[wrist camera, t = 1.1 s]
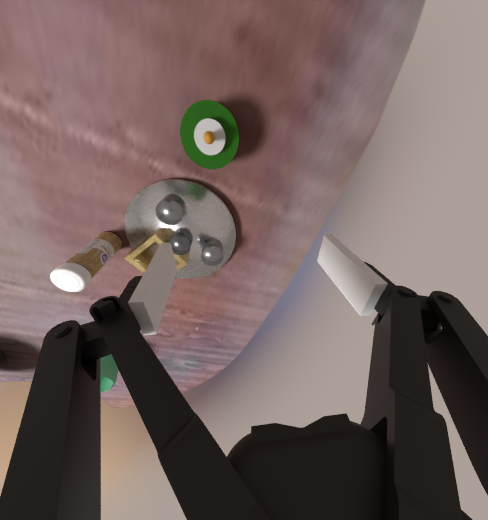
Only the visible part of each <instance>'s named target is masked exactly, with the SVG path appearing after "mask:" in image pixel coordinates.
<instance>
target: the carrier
mask: <svg viewBox="0 0 488 520" xmlns="http://www.w3.org/2000/svg"><path fill="white" fill-rule="evenodd" d="M124 225H125V233H126V237H127V239H128V242H129V244H130V246H131V248H132V250H131V251H130V252H129V253H128V255H127V256H126V257H125V258H124V259H126V260H127V261H128V262H130V263H131V264H132V265H134V266H135V267H136V268H138V269H139V270H140V271H142V272H143V273H145V271H146V269H147V267H148V266H149V264H150V262H151V260H152V258H153V257H154V255H155V253H156V251H157V249H158V248H159V246H160V244H161V243H171V246H172V250H173V254H174V258H175V263H176V267H177V272H176V275H175V278H183V279H191V278H199V277H203V276H206V275H209V274H211V273H213V272H215V271H216V270H218V269H219V268H221V267H222V266H223V265H224V264H225V263H226V262H227V260H228V259H229V258H230V256H231V254H232V252H233V249H234V246H235V241H236V230H235V224H234V220H233V217H232V215H231V213H230V211H229V209H228V207H227V206H226V204H225V203H224V202H223V201H222V199H221V198H220V197H219V196H217V195H216V194H215V193H214V192H213V191H211V190H210V189H208V188H207V187H205V186H203V185H201V184H198V183H195V182H193V181H188V180H183V179H167V180H161V181H158V182H155V183H153V184H151V185H149V186H147V187H145V188H144V189H143V190H141V191H140V192H139V193H138V194H137V195H136V196H135V197H134V198H133V199H132V201H131V202H130V204H129V206H128V208H127V210H126V215H125V223H124Z"/></svg>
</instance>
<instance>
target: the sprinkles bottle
mask: <svg viewBox="0 0 488 520" xmlns="http://www.w3.org/2000/svg"><path fill="white" fill-rule="evenodd" d="M121 246H122V242H121V240H120V238H119V237H118V236H117V235H115V234H113V233H111V232H102V233H100V234H99V235H98V237H97V238H95V239H94V240H92V241H91V242H90V243H88V244H87V245H86V246H85V247H83V248H82V249H81V250H80V251H78V252H77V253H76V254H75V255H74V256H73V257H72V258H70V259H69V260H68V261H67V262H65V263H63V264H61V265H59V266H58V267H57V268H56V269H54V270H53V271H52V273H51V275H50V278H51V281H52V282H53V283H54V284H55V285H56V286H57V287H58V288H60V289H62V290H65V291H69V292H77V291H81V290H83V289H84V288H85V287H86V286H87V285H88V284H89V283H90V281H91V279H92V277H93V276H94V275H95V274H96V273H97V272H98V271H99V270H100V269H101V268H102V267H103V266H104V265H105V264H106V263H107V262H108V261H109V260H110V259H111V258H112V257H113V255H114V254H115V253H116V252H117V251H118V250H119V249H120V248H121Z"/></svg>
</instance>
